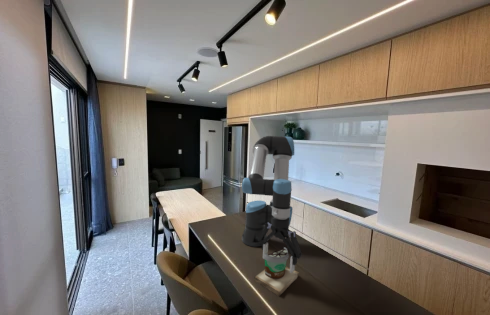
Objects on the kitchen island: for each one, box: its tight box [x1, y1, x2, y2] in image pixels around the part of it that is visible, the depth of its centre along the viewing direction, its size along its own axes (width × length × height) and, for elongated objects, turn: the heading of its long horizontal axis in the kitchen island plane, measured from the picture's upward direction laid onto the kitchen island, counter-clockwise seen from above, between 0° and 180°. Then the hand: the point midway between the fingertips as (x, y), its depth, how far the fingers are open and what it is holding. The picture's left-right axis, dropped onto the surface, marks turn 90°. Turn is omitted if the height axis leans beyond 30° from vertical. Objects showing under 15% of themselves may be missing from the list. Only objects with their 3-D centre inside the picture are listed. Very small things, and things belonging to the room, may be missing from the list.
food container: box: [263, 246, 290, 279], centre depth 86 cm, size 12×6×10 cm, turn 122°
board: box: [254, 265, 300, 297], centre depth 87 cm, size 12×16×2 cm
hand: (277, 264), depth 87 cm, fingers open, 13 cm apart
